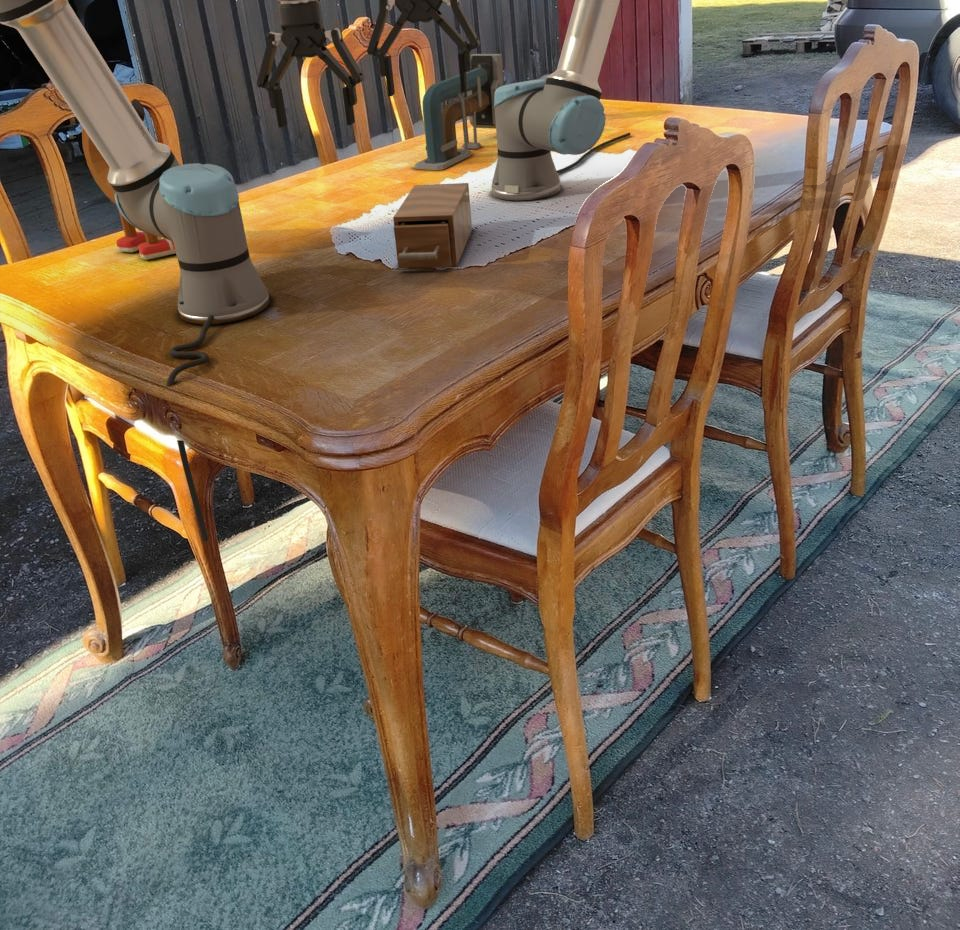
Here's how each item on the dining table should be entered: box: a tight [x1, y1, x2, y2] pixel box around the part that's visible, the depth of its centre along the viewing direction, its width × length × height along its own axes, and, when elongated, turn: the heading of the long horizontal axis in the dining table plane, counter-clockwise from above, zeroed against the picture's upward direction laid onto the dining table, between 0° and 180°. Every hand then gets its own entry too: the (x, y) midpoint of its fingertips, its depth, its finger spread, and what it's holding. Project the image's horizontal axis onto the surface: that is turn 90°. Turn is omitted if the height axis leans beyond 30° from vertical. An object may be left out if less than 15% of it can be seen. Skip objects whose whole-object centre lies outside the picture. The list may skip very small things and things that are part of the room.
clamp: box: [413, 53, 505, 171], centre depth 247 cm, size 35×9×21 cm, turn 151°
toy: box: [81, 98, 176, 260], centre depth 191 cm, size 21×10×30 cm, turn 47°
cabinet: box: [392, 182, 473, 267], centre depth 184 cm, size 21×11×9 cm, turn 173°
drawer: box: [393, 220, 452, 269], centre depth 179 cm, size 25×10×8 cm, turn 173°
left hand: (316, 125), depth 183 cm, fingers open, 13 cm apart
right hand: (427, 93), depth 177 cm, fingers open, 13 cm apart
